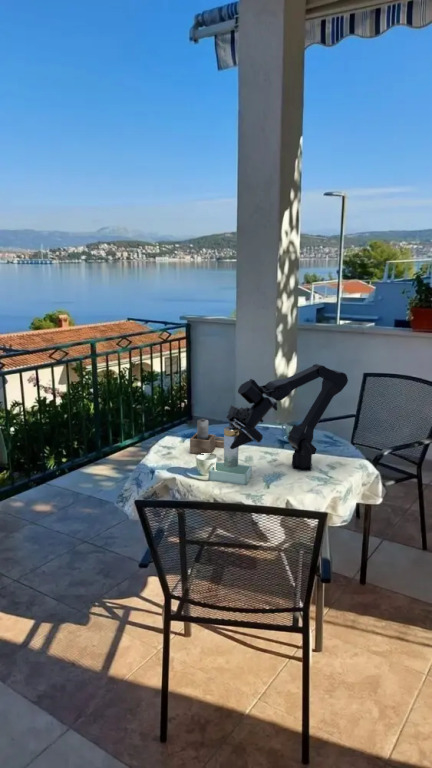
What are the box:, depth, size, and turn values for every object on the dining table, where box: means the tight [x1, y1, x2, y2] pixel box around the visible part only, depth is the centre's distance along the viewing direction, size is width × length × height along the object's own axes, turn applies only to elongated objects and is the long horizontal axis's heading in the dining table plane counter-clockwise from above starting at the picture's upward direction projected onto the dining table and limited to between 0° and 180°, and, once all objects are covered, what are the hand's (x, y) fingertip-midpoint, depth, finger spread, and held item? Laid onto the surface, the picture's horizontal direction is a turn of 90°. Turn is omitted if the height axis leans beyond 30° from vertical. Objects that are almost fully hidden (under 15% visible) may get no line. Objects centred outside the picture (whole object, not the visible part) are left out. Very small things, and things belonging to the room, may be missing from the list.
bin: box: [189, 418, 216, 455], centre depth 197 cm, size 8×8×13 cm
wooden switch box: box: [215, 436, 224, 449], centre depth 205 cm, size 8×6×3 cm
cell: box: [223, 425, 240, 468], centre depth 170 cm, size 5×5×14 cm
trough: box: [208, 461, 253, 486], centre depth 173 cm, size 13×9×4 cm, turn 74°
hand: (227, 446), depth 170 cm, fingers closed on cell, 5 cm apart
